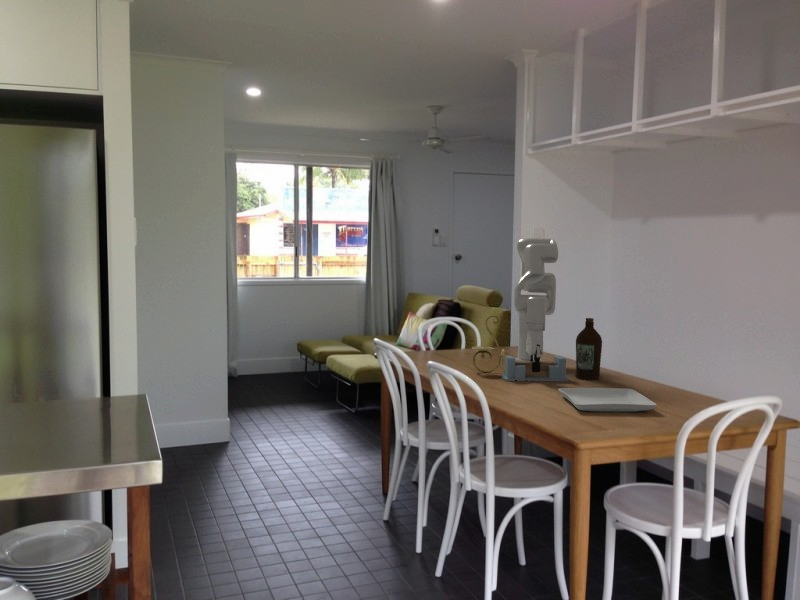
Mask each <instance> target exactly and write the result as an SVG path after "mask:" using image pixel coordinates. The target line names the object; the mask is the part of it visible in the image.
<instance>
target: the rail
mask: <svg viewBox="0 0 800 600" xmlns="http://www.w3.org/2000/svg"><path fill="white" fill-rule="evenodd" d="M532 362H533V361H515V366H525V377H548V371H549V366H555V362H554V360H553V361H552V360H547V361H545V360H542V361H540V372H532Z"/></svg>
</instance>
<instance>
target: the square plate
mask: <svg viewBox="0 0 800 600" xmlns="http://www.w3.org/2000/svg"><path fill="white" fill-rule="evenodd" d="M557 390H558V391H559V393H560V394H561V396H562V397H564V398H565V399H567V401H569V402H570V403H571V404H572V405H573V406H574V407H575V408H576V409H577V410H579V411H585V412H610V413H611V412H618V413H619V412H620V413H621V412H622V413H623V412H624V413H625V412H629V413H630V412H631V413H633V412H635V413H636V412H643V411H650V410H652V409H654V408H655V407H657V406H658V404H657V403H655V402H654V401H652V400H651V399H650V398H648V397H647V396H645V395H644V394H641V393H640V392H638V391H636V390H635V389H633V388H621V387H620V388H615V387H612V388H611V387H571V388H569V387H567V388H565V387H563V388H562V387H561V388H557Z"/></svg>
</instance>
